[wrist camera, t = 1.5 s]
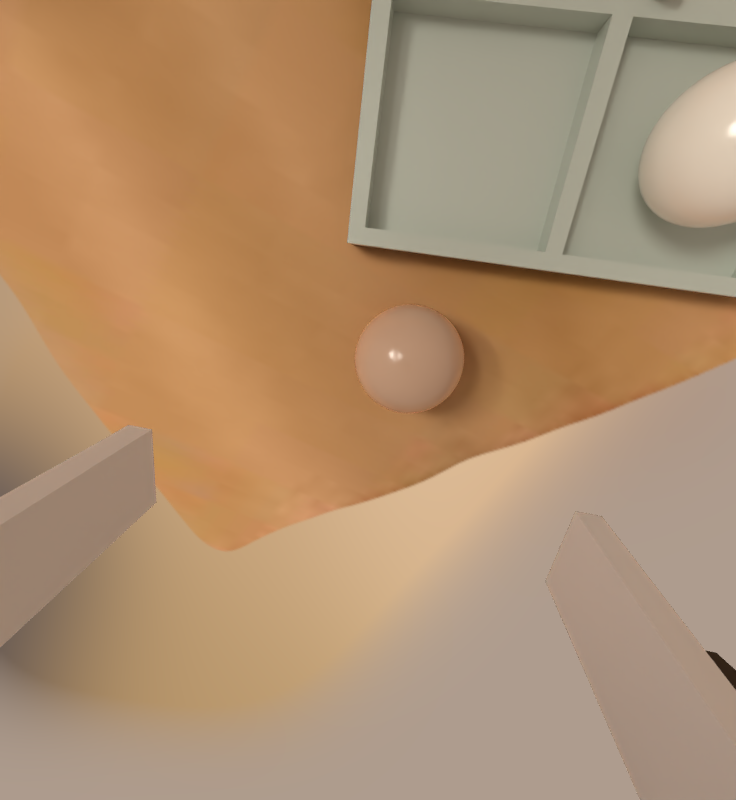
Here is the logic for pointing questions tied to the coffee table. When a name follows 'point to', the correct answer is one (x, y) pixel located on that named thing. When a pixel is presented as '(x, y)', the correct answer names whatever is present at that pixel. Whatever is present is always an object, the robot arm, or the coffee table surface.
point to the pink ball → (409, 358)
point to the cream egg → (694, 155)
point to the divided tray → (534, 135)
